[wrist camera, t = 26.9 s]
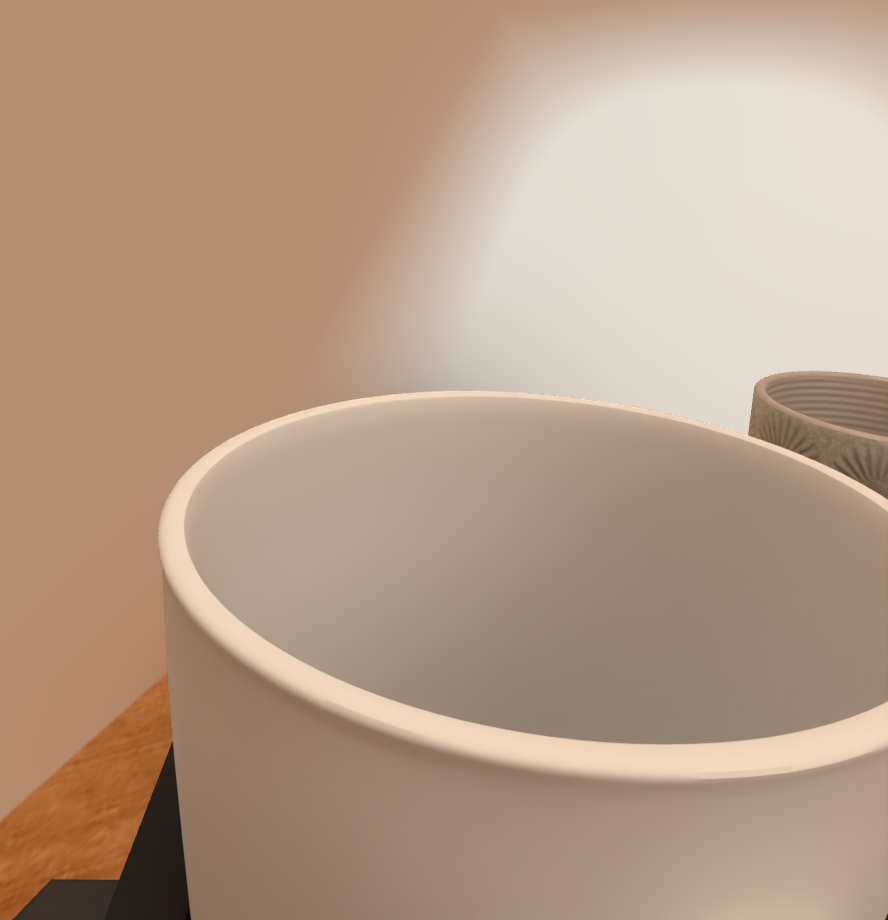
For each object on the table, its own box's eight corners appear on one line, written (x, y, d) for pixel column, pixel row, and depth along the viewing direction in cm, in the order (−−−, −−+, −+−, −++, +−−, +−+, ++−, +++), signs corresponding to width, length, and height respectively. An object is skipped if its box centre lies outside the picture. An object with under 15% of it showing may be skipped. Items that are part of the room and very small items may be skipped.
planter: (890, 700, 50) (962, 468, 45) (669, 579, 63) (704, 386, 57) (1007, 621, 60) (1079, 422, 54) (795, 530, 72) (836, 361, 67)
